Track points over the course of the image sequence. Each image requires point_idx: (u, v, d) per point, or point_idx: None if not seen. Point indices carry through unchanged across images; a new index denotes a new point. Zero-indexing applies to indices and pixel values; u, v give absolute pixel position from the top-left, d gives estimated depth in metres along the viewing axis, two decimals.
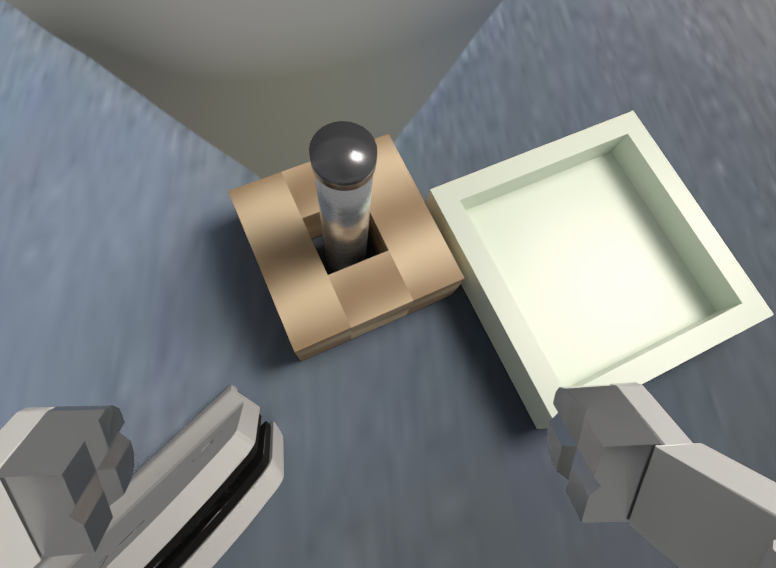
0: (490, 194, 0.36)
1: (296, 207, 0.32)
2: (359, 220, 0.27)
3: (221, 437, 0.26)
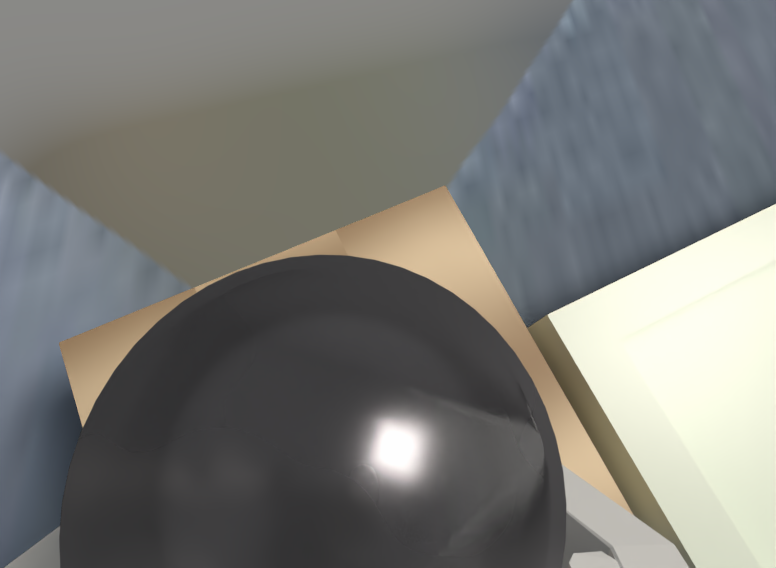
0: None
1: None
2: None
3: None
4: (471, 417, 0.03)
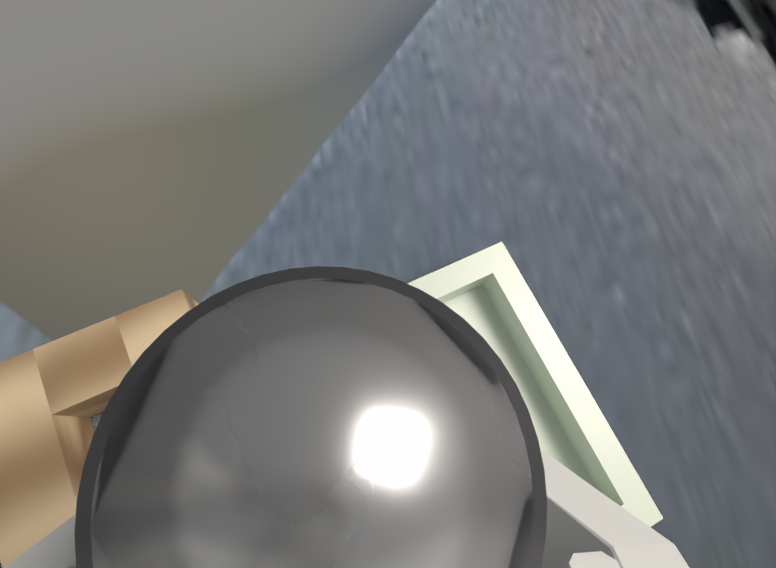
0: None
1: (45, 399, 0.25)
2: None
3: None
4: (459, 419, 0.03)
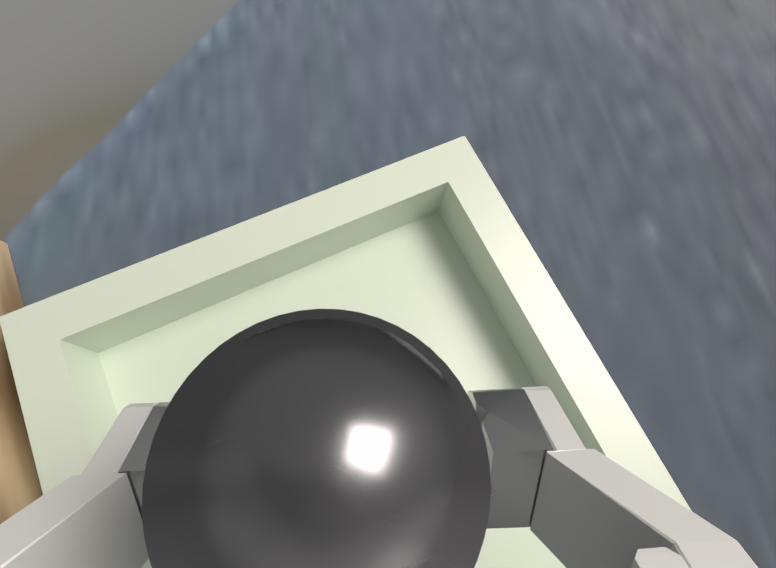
0: (160, 313, 0.18)
1: None
2: None
3: None
4: (426, 427, 0.05)
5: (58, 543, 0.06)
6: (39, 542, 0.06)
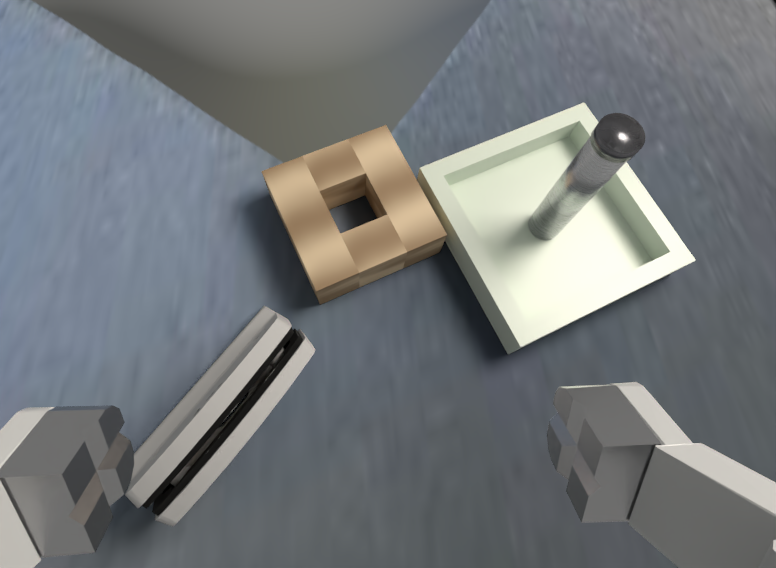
0: (468, 171, 0.45)
1: (314, 183, 0.41)
2: None
3: (265, 329, 0.36)
4: (634, 128, 0.32)
5: None
6: None
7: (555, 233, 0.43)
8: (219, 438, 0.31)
